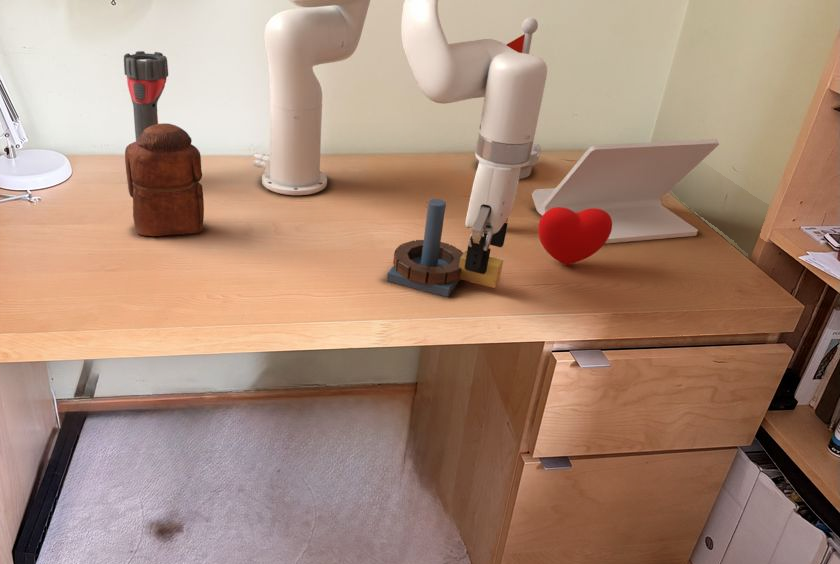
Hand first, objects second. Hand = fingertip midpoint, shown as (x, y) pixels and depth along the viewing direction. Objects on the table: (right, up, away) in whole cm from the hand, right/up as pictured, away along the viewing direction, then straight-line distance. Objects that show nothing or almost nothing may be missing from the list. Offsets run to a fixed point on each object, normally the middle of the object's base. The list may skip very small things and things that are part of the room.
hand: (484, 257), depth 117 cm
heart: (+16, 0, +11) cm, 19 cm away
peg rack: (-8, -2, +6) cm, 10 cm away
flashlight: (-57, +18, +32) cm, 68 cm away
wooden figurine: (-51, +6, +14) cm, 53 cm away
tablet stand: (+29, +10, +28) cm, 41 cm away
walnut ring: (-5, -2, +4) cm, 7 cm away
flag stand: (+13, +23, +46) cm, 53 cm away
